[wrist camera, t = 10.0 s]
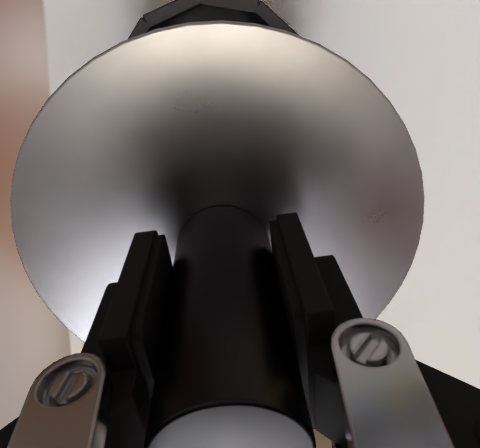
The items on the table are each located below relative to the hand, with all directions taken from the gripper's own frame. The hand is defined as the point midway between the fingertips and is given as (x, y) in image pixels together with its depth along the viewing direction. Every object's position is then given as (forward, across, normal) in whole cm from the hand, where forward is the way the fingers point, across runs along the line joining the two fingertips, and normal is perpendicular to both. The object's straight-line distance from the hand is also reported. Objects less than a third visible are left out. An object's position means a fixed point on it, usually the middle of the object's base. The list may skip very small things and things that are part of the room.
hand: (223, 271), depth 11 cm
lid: (+2, 0, 0) cm, 2 cm away
